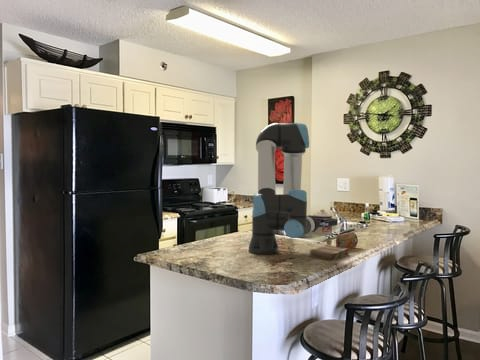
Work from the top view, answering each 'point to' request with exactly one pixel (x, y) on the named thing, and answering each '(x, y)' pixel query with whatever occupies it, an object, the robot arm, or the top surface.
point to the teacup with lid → (323, 230)
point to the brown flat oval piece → (347, 240)
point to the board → (328, 252)
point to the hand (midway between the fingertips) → (327, 218)
